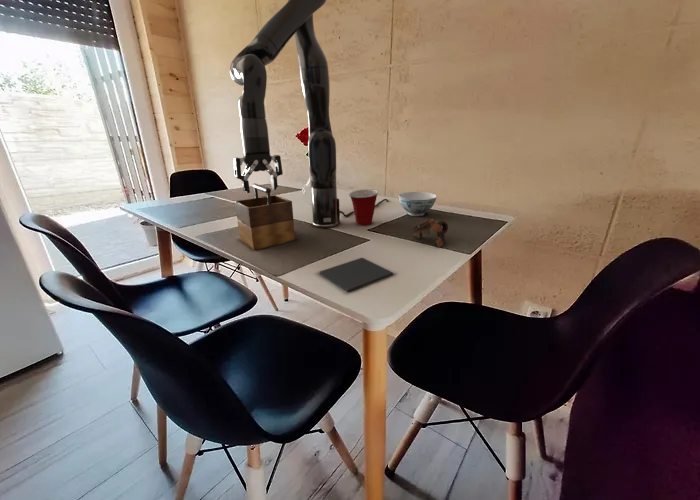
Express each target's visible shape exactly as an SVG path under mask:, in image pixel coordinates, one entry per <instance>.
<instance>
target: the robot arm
mask: <svg viewBox="0 0 700 500" xmlns="http://www.w3.org/2000/svg"><path fill="white" fill-rule="evenodd" d="M326 3H327V0H287V2H286V3H285V4H284V5H283V6H282V7H281V8H280V9H279V10H278V11H277V12H276V13H275V14H273V15H272V17H270V18H269V20H267V22H266V23H264V25H262V27H261V29H260V30H259V31H258V32H257V34H256V35H255V36H254V37H253V39H252V41H251V42H250V43H249V44H247V45H246V46H245V47H243V49H242V50H241V51H239V52H238V53H237V55H235V57H234V58H233V59H232V61H231V63H230V66H229V74H230V76H231V79H232V80H233V82H234V83H236V84H237V85H239V86H241V87H242V94H241V95H240V97H238V112H239V118H240V120H239V121H240V124H239V125H240V126H239V127H240V135H241V142H242V151H243V157H236V156H234V157H233V158H232V162H233V174H234V178H235V179H237V180H241V185H242V190H243V191H244V192H245V194H250V193H251V190H250V189H251V188H250V184H249V183H250V182H249V180H248V179H249V178H250V177H251V175H252V174H253V172H255V173H256V172H257V173H258V172H265V171H266V172H267V173H268V174H269V176H270V177H269V178H270V189H271V190H272V191H276V190H277V189H278V187H279V186H278V185H279V184H278V177H279V176H283V174H284V173H283V166H282V159H281V158H282V157H281V155H280V154H274V155H271V150H270V149H271V148H270V139H269V127H268V122H267V118H266V117H267V116H266V107H265V98H266V94H267V93H266V92H267V84H268V83H267V82H268V74H267V69H266V66H268V65H270V64H271V63H273V62H274V61H276V60H277V57H278V56H279V55H280V54H281V52H282V51H283V50H284V48H285V47H286V46H287V44H288V43H289V42H290V40H291V39H293V38H292V37H293V36H294V37H295V46H296V52H297V59H298V60H297V61H298V70H299V71H298V72H299V79H300V86H301V91H302V96H303V97H302V98H303V101H304V105H305V108H306V113H307V120H308V141H307V150H308V151H307V152H308V168H309V178H310V180H309V181H310V192H311V193H310V194H311V210H312V211H311V212H312V213H311V214H312V226H313V227H316V228H320V229H327V228H328V229H329V228H334V227H336V226H338V225H340V224H341V218H340V217H341V214H342V215H343V217H345V218H346V217H349V216H351V215H353V214H354V210H352V211H350V212H349V213H348V214H345V212H344V211H342V210H341V209H340V199H339V198H338V191H337V187H338V186H337V145H336V139H335V137H334V135H333V130H332V125H331V120H330V119H331V118H330V98H331V97H330V96H331V94H330V93H331V92H330V91H331V90H330V89H331V85H330V73H329V72H330V71H329V64H328V63H329V62H328V60H327V56H326V55H325V53H324V51H323V49H322V46H321V45H320V43H319V41H318V39H317V36H316V32H315V26H314V13H316V12H317V11H318V10H319V9H321V8H323V6H325V4H326ZM271 162H273V163H274V168H273V167H272V166H271ZM243 163H244V164H245V165H246V166H245V168H244V170H243V172H242V168H241V167H242V165H243ZM383 202H388V203H389V199H388V198H383V199H382V200H380V201H379V202H377V203H375V208H377V207H378V206H379V205H380V204H382V203H383Z"/></svg>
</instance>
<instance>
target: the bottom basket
mask: <svg viewBox="0 0 700 500" xmlns="http://www.w3.org/2000/svg"><path fill="white" fill-rule="evenodd" d="M236 221H237V226H238V227H237V228H238V233H239V239H240V241H241V242H242V243H244V244H245V245H246V246H247V247H249V248H250V249H251V250H253V251H257V250H261V249H265V248H269V247H274V246H277V245H281V244H285V243H290V242H293V241H296V231H295V222H294V219H293V220H289V221H284V222H279V223H274V224H269V225H264V226H260V227H255V228H250V227H248V226H247V225H245V224H244V223H242V222H240V221H239V220H237V219H236Z"/></svg>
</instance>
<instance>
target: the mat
mask: <svg viewBox="0 0 700 500" xmlns="http://www.w3.org/2000/svg"><path fill="white" fill-rule="evenodd" d="M319 274H320V275H321V276H323V277H324V278H325V279H327V280H329V281H330V282H331V283H333V284H334V285H336V286H338V287H339V288H341V289H342V290H344V291H346V292H347V293H350V292H352V291H354V290H358V289H360V288H362V287H365V286H367V285H370V284H372V283H375V282H377V281H380V280H383V279H385V278H388V277H389V276H392V275H393V274H394V273H393V271H391V270H388V269H386V268H384V267H382V266H380V265H379V264H376V263H374V262H372V261H370V260H368V259H366V258H363V257H359V258H357V259H354V260H350V261H348V262H345V263H342V264H339V265H336V266H332V267H329V268H327V269H323V270H320V271H319Z"/></svg>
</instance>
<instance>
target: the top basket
mask: <svg viewBox="0 0 700 500" xmlns="http://www.w3.org/2000/svg"><path fill="white" fill-rule="evenodd" d="M252 189H253V191H254V192H253V193H254V197H251V198H246V199H239V200H234V201H233V202H234V208H235V209H234V210H235V214H236V221H237V220H239V221H240V222H242V223H244V224H245V225H247V226H248V227H250V228H255V227H260V226H264V225H269V224H274V223H279V222H284V221H289V220H294V208H293V201H292V200H290V199H288V198H285V197H282V196H279V195H277V194H274V195H273V194H272V195H271V193H272V188H271V187H266V186H264V185H262V184H258V183H255V182H254V183H253V184H252ZM259 191H260V192H263V193H265V194H266V196H260V197H259V193H258V192H259Z"/></svg>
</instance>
